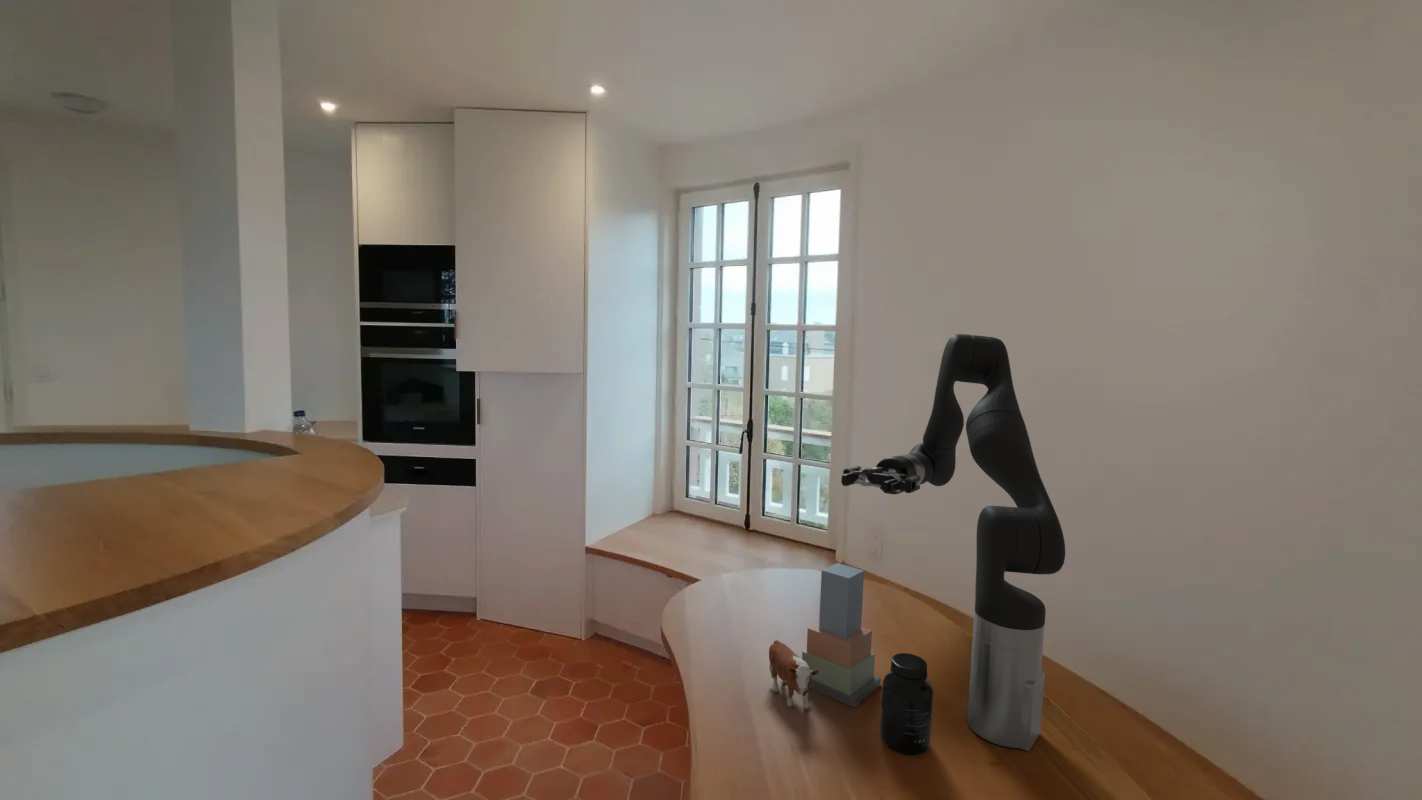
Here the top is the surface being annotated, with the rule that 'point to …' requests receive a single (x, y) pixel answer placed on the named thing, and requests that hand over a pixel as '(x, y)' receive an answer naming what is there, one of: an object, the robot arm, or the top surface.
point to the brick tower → (841, 664)
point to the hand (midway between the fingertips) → (864, 484)
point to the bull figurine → (790, 672)
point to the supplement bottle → (906, 706)
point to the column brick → (841, 600)
